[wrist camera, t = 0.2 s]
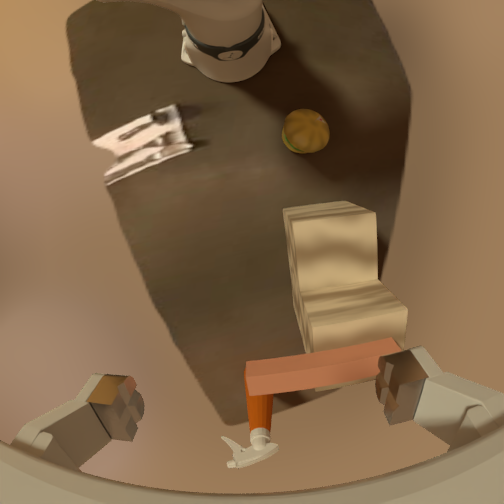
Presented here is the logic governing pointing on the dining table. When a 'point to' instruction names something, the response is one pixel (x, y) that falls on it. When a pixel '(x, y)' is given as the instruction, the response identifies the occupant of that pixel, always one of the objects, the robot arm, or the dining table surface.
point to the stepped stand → (339, 280)
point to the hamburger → (305, 131)
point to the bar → (317, 368)
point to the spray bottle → (255, 432)
